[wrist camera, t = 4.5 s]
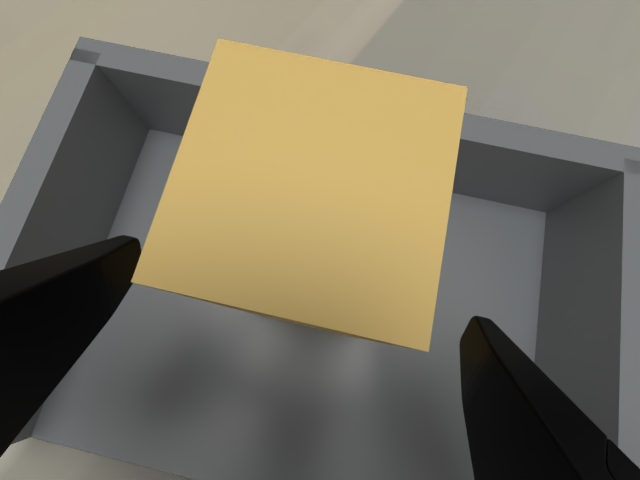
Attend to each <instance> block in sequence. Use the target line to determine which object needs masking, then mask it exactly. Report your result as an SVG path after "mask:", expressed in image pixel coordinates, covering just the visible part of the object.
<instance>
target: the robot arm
mask: <svg viewBox="0 0 640 480" xmlns="http://www.w3.org/2000/svg"><path fill="white" fill-rule="evenodd" d="M140 255H141V244H140V241H139V239H137V238H135V237H131V236H127V235H120V236H117V237H113V238H110V239H106V240H103V241H100V242H96V243H93V244H89V245H86V246H82V247H79V248H75V249H72V250H68V251H65V252H62V253H58V254H55V255H51V256H48V257H44V258H41V259H37V260H34V261H30V262H27V263H23V264H20V265H17V266H13V267H10V268H6V269H3V270H0V457H1V456H2V455H3V453H4V452H5V451H6V450H7V448H8V447H9V446H10V445H11V443H12V442H13V441H14V439H15V438H16V437H17V436H18V434H19V433H20V432H21V431H22V429H23V428H24V427H25V426H26V424H27V423H28V422H29V421H30V419H31V418H32V417H33V416H34V414H35V413H36V412H37V411H38V409H39V408H40V407H41V405H42V404H43V403H44V402H45V400H46V399H47V398H48V397H49V395H50V394H51V393H52V392H53V390H54V389H55V388H56V387H57V385H58V384H59V383H60V382H61V380H62V379H63V378H64V376H65V375H66V374H67V373H68V371H69V370H70V369H71V368H72V366H73V365H74V364H75V363H76V361H77V360H78V359H79V358H80V356H81V355H82V354H83V353H84V351H85V350H86V349H87V348H88V346H89V345H90V344H91V342H92V341H93V340H94V339H95V337H96V336H97V335H98V334H99V332H100V331H101V330H102V329H103V327H104V326H105V325H106V324H107V322H108V321H109V320H110V318H111V317H112V316H113V314H114V313H115V311H116V310H117V308H118V307H119V305H120V303H121V302H122V300H123V299H124V297H125V295H126V294H127V292H128V291H129V289H130V287H131V286H132V284H133V283H132V282H131V280H132V278H133V275H134V272H135V269H136V266H137V264H138V261H139V258H140ZM459 350H460V374H461V395H462V405H463V412H464V419H465V425H466V431H467V437H468V444H469V450H470V456H471V462H472V468H473V475H474V480H640V468H639V467H638V466H637V465H636V464H635V463H634V462H633V461H631V460H630V459H629V458H628V457H627V456H626V455H625V454H624V453H623V452H622V451H621V450H620V449H619V448H618V447H617V445H616V444H615V443H614V442H613V441H612V440H610V439H607V436H606V435H605V434H604V433H603V432H602V431H601V430H600V429H599V428H598V426H597V425H596V424H595V423H594V422H593V421H592V420H591V419H590V418H589V417H588V416H587V415H586V414H585V413H584V412H583V411H582V410H581V409H580V408H579V407H578V406H577V405H576V404H575V403H574V402H573V401H572V400H571V399H570V398H569V397H568V396H567V395H566V394H565V393H564V392H563V391H562V390H561V389H560V388H559V387H558V386H557V385H556V384H555V383H554V382H553V381H552V380H551V379H550V378H549V377H548V376H547V375H546V374H545V373H544V372H543V371H542V370H541V369H540V368H539V367H538V366H537V365H536V364H535V363H534V362H533V361H532V360H531V359H530V358H529V357H528V356H527V355H526V354H525V353H524V352H523V351H522V350H521V349H520V348H519V347H518V346H517V345H516V344H515V343H514V342H513V341H512V340H511V339H510V338H509V337H508V336H507V335H506V334H505V333H504V332H503V331H502V330H501V329H500V328H499V327H498V326H497V325H496V324H495V323H494V322H493V321H492V320H491V319H489V318H485V317H481V316H473V317H472V318H471V319H470V321H469V323H468V325H467V327H466V329H465V331H464V332H463V334H462V336H461V339H460V344H459Z"/></svg>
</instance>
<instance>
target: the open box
mask: <svg viewBox="0 0 640 480" xmlns="http://www.w3.org/2000/svg"><path fill="white" fill-rule="evenodd" d="M209 63H210V62H205V61H200V60H195V59H190V58H185V57H180V56H175V55H170V54H165V53H160V52H155V51H150V50H145V49H140V48H135V47H130V46H124V45H119V44H114V43H109V42H104V41H99V40H94V39H89V38H84V37H80V38H79V40H78V42H77V44H76V46H75V48H74V50H73V52H72V54H71V57H70V59H69V61H68V63H67V65H66V67H65V69H64V71H63V74H62V76H61V78H60V80H59V82H58V84H57V86H56V88H55V90H54V93H53V95H52V97H51V99H50V101H49V103H48V105H47V107H46V109H45V112H44V114H43V116H42V118H41V120H40V122H39V124H38V126H37V128H36V131H35V133H34V135H33V137H32V139H31V141H30V143H29V145H28V148H27V150H26V152H25V154H24V156H23V158H22V160H21V162H20V164H19V167H18V169H17V171H16V173H15V175H14V177H13V179H12V181H11V183H10V186H9V188H8V190H7V192H6V194H5V196H4V198H3V200H2V203H1V205H0V270H3V269H6V268H10V267H13V266H17V265H20V264H23V263H27V262H30V261H34V260H37V259H41V258H44V257H48V256H51V255H55V254H58V253H62V252H65V251H68V250H72V249H75V248H79V247H82V246H86V245H89V244H93V243H96V242H100V241H103V240H106V239H110V238H113V237H117V236H120V235H127V236H131V237H135V238H137V239H139V241H140V244H141V252H142V250H143V247H144V244H145V241H146V238H147V236H148V233H149V230H150V227H151V225H152V222H153V219H154V216H155V213H156V211H157V208H158V205H159V202H160V199H161V197H162V194H163V191H164V188H165V185H166V183H167V180H168V177H169V174H170V171H171V169H172V166H173V163H174V160H175V158H176V155H177V152H178V149H179V146H180V144H181V141H182V138H183V135H184V132H185V130H186V127H187V124H188V121H189V118H190V116H191V113H192V110H193V107H194V104H195V102H196V99H197V96H198V93H199V91H200V88H201V85H202V82H203V79H204V77H205V74H206V71H207V68H208V65H209ZM473 316H481V317H485V318H489V319H491V320H492V321H493V322H494V323H495V324H496V325H497V326H498V327H499V328H500V329H501V330H502V331H503V332H504V333H505V334H506V335H507V336H508V337H509V338H510V339H511V340H512V341H513V342H514V343H515V344H516V345H517V346H518V347H519V348H520V349H521V350H522V351H523V352H524V353H525V354H526V355H527V356H528V357H529V358H530V359H531V360H532V361H533V362H534V363H535V364H536V365H537V366H538V367H539V368H540V369H541V370H542V371H543V372H544V373H545V374H546V375H547V376H548V377H549V378H550V379H551V380H552V381H553V382H554V383H555V384H556V385H557V386H558V387H559V388H560V389H561V390H562V391H563V392H564V393H565V394H566V395H567V396H568V397H569V398H570V399H571V400H572V401H573V402H574V403H575V404H576V405H577V406H578V407H579V408H580V409H581V410H582V411H583V412H584V413H585V414H586V415H587V416H588V417H589V418H590V419H591V420H592V421H593V422H594V423H595V424H596V425H597V426H598V428H599V429H600V430H601V431H602V432H603V433H604V434H605V435H606V436H607V439H610V440H612V441H613V442H614V443H615V444H616V445H617V447H618V448H619V449H620V450H621V451H622V452H623V453H624V454H625V455H626V456H627V457H628V458H629V459H630V460H631V461H633V462H634V463H635V464H636V465H637V466H638V467H639V468H640V148H638V147H633V146H628V145H623V144H618V143H613V142H608V141H603V140H598V139H592V138H587V137H582V136H577V135H572V134H567V133H562V132H557V131H552V130H547V129H542V128H537V127H532V126H527V125H522V124H517V123H512V122H507V121H502V120H497V119H492V118H487V117H482V116H477V115H472V114H467V113H464V115H463V122H462V129H461V135H460V142H459V149H458V156H457V163H456V169H455V176H454V183H453V190H452V197H451V203H450V210H449V217H448V224H447V231H446V237H445V244H444V251H443V258H442V265H441V271H440V278H439V285H438V292H437V299H436V305H435V312H434V319H433V326H432V333H431V339H430V346H429V352H426V351H421V350H416V349H410V348H405V347H400V346H395V345H390V344H385V343H379V342H374V341H369V340H364V339H359V338H354V337H350V336H345V335H341V334H337V333H333V332H328V331H324V330H320V329H316V328H311V327H307V326H303V325H299V324H294V323H290V322H286V321H282V320H277V319H273V318H269V317H264V316H260V315H256V314H252V313H248V312H244V311H240V310H237V309H233V308H229V307H225V306H221V305H217V304H213V303H210V302H206V301H202V300H198V299H194V298H190V297H186V296H182V295H179V294H175V293H171V292H167V291H163V290H159V289H155V288H152V287H148V286H144V285H140V284H136V283H133V284H132V286H131V287H130V289H129V291H128V292H127V294H126V295H125V297H124V299H123V300H122V302H121V303H120V305H119V307H118V308H117V310H116V311H115V313H114V314H113V316H112V317H111V318H110V320H109V321H108V322H107V324H106V325H105V326H104V327H103V329H102V330H101V331H100V332H99V334H98V335H97V336H96V337H95V339H94V340H93V341H92V342H91V344H90V345H89V346H88V348H87V349H86V350H85V351H84V353H83V354H82V355H81V356H80V358H79V359H78V360H77V361H76V363H75V364H74V365H73V366H72V368H71V369H70V370H69V371H68V373H67V374H66V375H65V376H64V378H63V379H62V380H61V382H60V383H59V384H58V385H57V387H56V388H55V389H54V390H53V392H52V393H51V394H50V395H49V397H48V398H47V399H46V400H45V402H44V403H43V404H42V405H41V407H40V408H39V409H38V411H37V412H36V413H35V414H34V416H33V417H32V418H31V419H30V421H29V422H28V423H27V424H26V426H25V427H24V428H23V429H22V431H21V432H20V433H19V434H18V436H17V437H16V438H15V439H14V441H13V442H12V443H11V444H13V443H16V442H19V441H21V440H24V439H27V438H30V437H32V438H36V439H40V440H44V441H48V442H51V443H55V444H59V445H63V446H67V447H71V448H74V449H78V450H82V451H86V452H90V453H93V454H97V455H101V456H105V457H109V458H112V459H116V460H120V461H124V462H128V463H132V464H135V465H139V466H143V467H147V468H151V469H154V470H158V471H162V472H166V473H170V474H173V475H177V476H181V477H185V478H189V479H193V480H474V475H473V468H472V462H471V456H470V450H469V444H468V437H467V431H466V425H465V419H464V412H463V405H462V395H461V374H460V350H459V344H460V339H461V336H462V334H463V332H464V331H465V329H466V327H467V325H468V323H469V321H470V319H471V318H472V317H473Z"/></svg>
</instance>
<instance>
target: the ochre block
mask: <svg viewBox="0 0 640 480" xmlns="http://www.w3.org/2000/svg"><path fill="white" fill-rule="evenodd" d="M467 88H468V87H465V86H459V85H454V84H449V83H444V82H439V81H434V80H429V79H423V78H418V77H413V76H408V75H403V74H398V73H393V72H388V71H382V70H377V69H372V68H367V67H362V66H357V65H352V64H347V63H341V62H336V61H331V60H326V59H321V58H316V57H311V56H305V55H300V54H295V53H290V52H285V51H280V50H275V49H270V48H264V47H259V46H254V45H249V44H244V43H239V42H234V41H228V40H223V39H218V40H217V43H216V46H215V49H214V51H213V54H212V57H211V60H210V63H209V65H208V68H207V71H206V74H205V77H204V79H203V82H202V85H201V88H200V91H199V93H198V96H197V99H196V102H195V104H194V107H193V110H192V113H191V116H190V118H189V121H188V124H187V127H186V130H185V132H184V135H183V138H182V141H181V144H180V146H179V149H178V152H177V155H176V158H175V160H174V163H173V166H172V169H171V171H170V174H169V177H168V180H167V183H166V185H165V188H164V191H163V194H162V197H161V199H160V202H159V205H158V208H157V211H156V213H155V216H154V219H153V222H152V225H151V227H150V230H149V233H148V236H147V238H146V241H145V244H144V247H143V250H142V252H141V255H140V258H139V261H138V264H137V266H136V269H135V272H134V275H133V278H132V280H131V282H132V283H136V284H140V285H144V286H148V287H152V288H155V289H159V290H163V291H167V292H171V293H175V294H179V295H182V296H186V297H190V298H194V299H198V300H202V301H206V302H210V303H213V304H217V305H221V306H225V307H229V308H233V309H237V310H240V311H244V312H248V313H252V314H256V315H260V316H264V317H269V318H273V319H277V320H282V321H286V322H290V323H294V324H299V325H303V326H307V327H311V328H316V329H320V330H324V331H328V332H333V333H337V334H341V335H345V336H350V337H354V338H359V339H364V340H369V341H374V342H379V343H385V344H390V345H395V346H400V347H405V348H410V349H416V350H421V351H426V352H429V346H430V339H431V333H432V326H433V319H434V312H435V305H436V299H437V292H438V285H439V278H440V271H441V265H442V258H443V251H444V244H445V237H446V231H447V224H448V217H449V210H450V203H451V197H452V190H453V183H454V176H455V169H456V163H457V156H458V149H459V142H460V135H461V129H462V122H463V115H464V108H465V101H466V95H467Z"/></svg>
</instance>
